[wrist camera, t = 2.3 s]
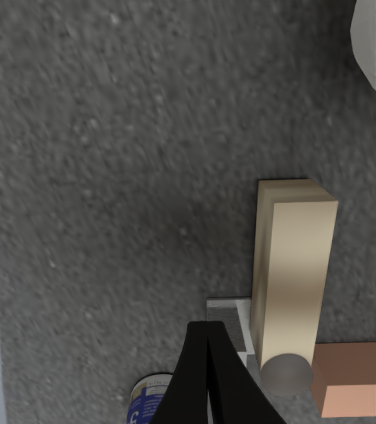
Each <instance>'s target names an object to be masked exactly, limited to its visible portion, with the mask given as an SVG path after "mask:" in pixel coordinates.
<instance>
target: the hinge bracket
mask: <svg viewBox="0 0 376 424" xmlns="http://www.w3.org/2000/svg"><path fill="white" fill-rule="evenodd" d="M251 305H252V297H233V298H207V321H222V322H223V323H224V324H225V327H226V330H227V332H228V335H229V337H230V339H231V341H232V343H233V345H234V347H235V349H236V351H237V353H238V355H239V356H240V358H241V360H242V362H243V363H244V365H245V367H246V358H247V354H255V351H254V347H253V343H252V339H251V335H250V321H251Z"/></svg>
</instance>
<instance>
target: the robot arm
mask: <svg viewBox="0 0 376 424" xmlns="http://www.w3.org/2000/svg"><path fill="white" fill-rule="evenodd" d="M208 391H209V398H210V405H211V411H212V417H213V424H287V423H286V422H285V421H284V420H283V419H282V417H281V416H280V415H279V414H278V412H277V411H276V410H275V409H274V407H273V406H272V405H271V404H270V402H269V401H268V400H267V398H266V397H265V396H264V394H263V393H262V391H261V390H260V388H259V387H258V386H257V384H256V383H255V381H254V380H253V378H252V377H251V375H250V373H249V372H248V370H247V369H246V367H245V365H244V363H243V362H242V360H241V358H240V356H239V355H238V353H237V351H236V349H235V347H234V345H233V343H232V341H231V339H230V337H229V335H228V332H227V330H226V327H225V324H224V323H223V322H222V321H195V322H189V323H188V326H187V333H186V338H185V342H184V345H183V349H182V352H181V355H180V358H179V360H178V363H177V366H176V369H175V371H174V373H173V376H172V378H171V380H170V383H169V385H168V387H167V389H166V391H165V394H164V396H163V398H162V400H161V401H160V403H159V405H158V407H157V409H156V411H155V413H154V414H153V416H152V418H151V420H150V421H149V423H148V424H208V414H207V401H208Z"/></svg>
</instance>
